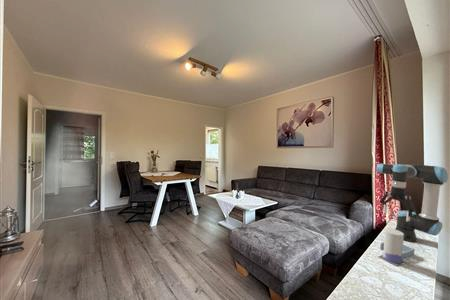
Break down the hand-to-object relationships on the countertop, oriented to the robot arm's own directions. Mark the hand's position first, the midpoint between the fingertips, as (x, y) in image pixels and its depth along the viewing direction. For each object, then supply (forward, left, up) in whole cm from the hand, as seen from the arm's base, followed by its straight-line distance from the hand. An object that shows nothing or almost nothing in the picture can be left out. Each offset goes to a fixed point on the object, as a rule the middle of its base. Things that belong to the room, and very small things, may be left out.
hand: (395, 216), depth 138 cm
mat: (0, 0, -31) cm, 31 cm away
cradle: (-14, -4, -31) cm, 34 cm away
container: (0, 0, -31) cm, 31 cm away
